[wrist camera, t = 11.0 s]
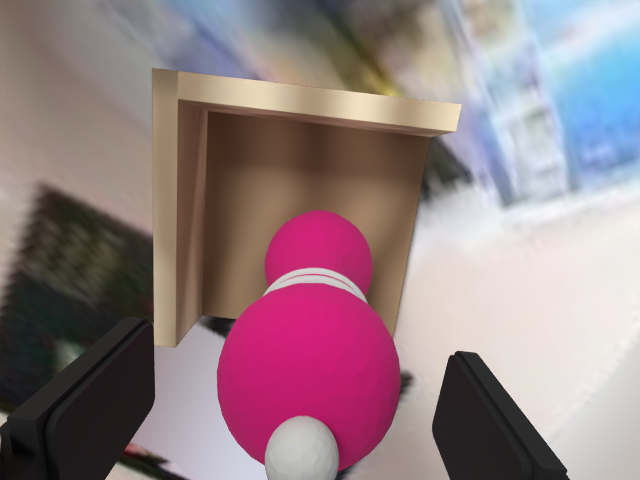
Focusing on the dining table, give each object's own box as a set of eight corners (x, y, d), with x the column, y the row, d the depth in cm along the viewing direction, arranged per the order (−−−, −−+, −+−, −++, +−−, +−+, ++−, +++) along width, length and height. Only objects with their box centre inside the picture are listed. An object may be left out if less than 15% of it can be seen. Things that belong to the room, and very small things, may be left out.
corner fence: (184, 313, 28) (154, 345, 23) (187, 86, 24) (152, 67, 19) (393, 337, 28) (406, 373, 23) (434, 115, 24) (461, 104, 19)
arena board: (188, 309, 29) (184, 313, 28) (192, 88, 25) (187, 86, 24) (391, 332, 29) (393, 337, 28) (430, 117, 25) (434, 115, 24)
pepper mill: (343, 188, 25) (394, 283, 6) (379, 269, 27) (513, 560, 7) (259, 226, 26) (63, 420, 7) (299, 303, 28) (231, 642, 8)
